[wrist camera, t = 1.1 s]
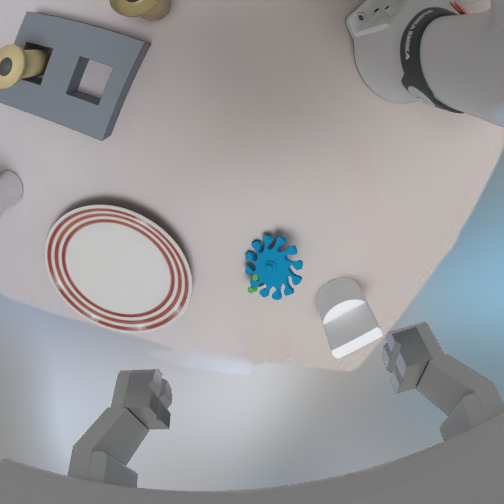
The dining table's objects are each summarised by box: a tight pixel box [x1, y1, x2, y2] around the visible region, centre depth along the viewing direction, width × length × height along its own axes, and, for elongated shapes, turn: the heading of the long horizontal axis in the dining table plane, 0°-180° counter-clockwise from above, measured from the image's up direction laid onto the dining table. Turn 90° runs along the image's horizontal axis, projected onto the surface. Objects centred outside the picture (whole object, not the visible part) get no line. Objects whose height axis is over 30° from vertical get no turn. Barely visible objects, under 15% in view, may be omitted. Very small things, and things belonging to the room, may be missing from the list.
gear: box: [245, 236, 303, 300], centre depth 50 cm, size 11×6×10 cm
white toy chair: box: [316, 278, 382, 359], centre depth 53 cm, size 9×9×12 cm
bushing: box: [110, 0, 171, 21], centre depth 25 cm, size 6×6×10 cm
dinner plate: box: [44, 205, 193, 333], centre depth 50 cm, size 27×27×3 cm
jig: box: [0, 12, 151, 141], centre depth 28 cm, size 20×14×10 cm
